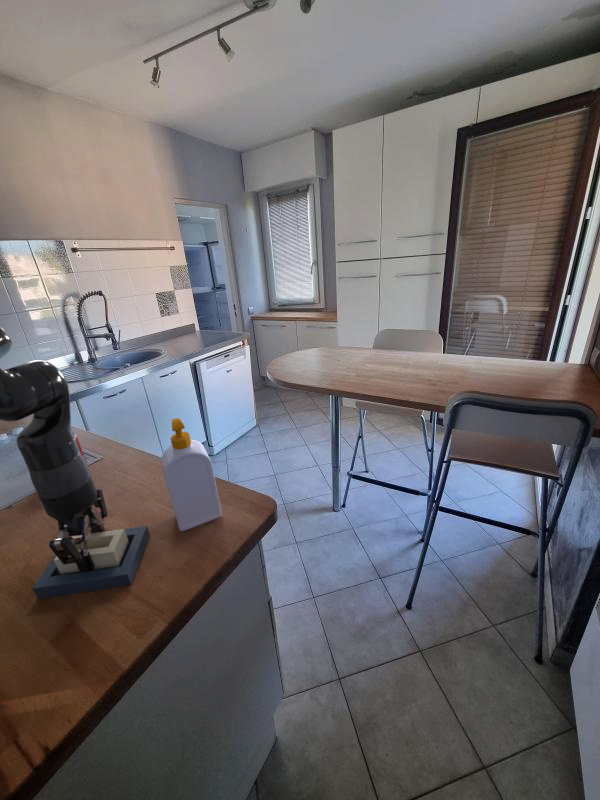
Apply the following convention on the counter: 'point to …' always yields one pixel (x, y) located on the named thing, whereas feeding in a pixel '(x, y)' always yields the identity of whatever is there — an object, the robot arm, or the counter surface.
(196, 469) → the soap bottle
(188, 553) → the counter surface
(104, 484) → the counter surface
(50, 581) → the tray
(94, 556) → the frame
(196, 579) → the counter surface
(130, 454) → the counter surface
